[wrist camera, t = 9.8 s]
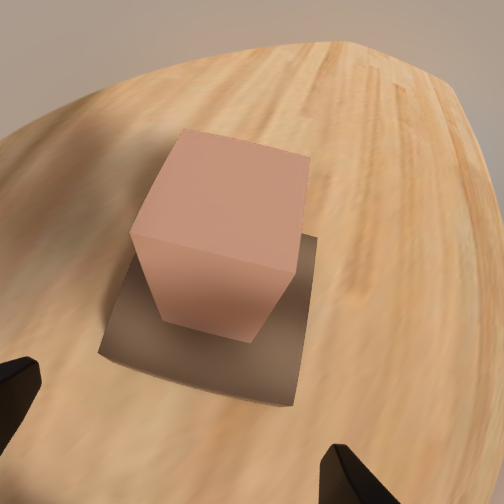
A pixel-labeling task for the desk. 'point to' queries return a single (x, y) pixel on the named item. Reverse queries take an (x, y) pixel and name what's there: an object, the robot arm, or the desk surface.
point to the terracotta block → (221, 232)
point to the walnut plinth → (214, 341)
